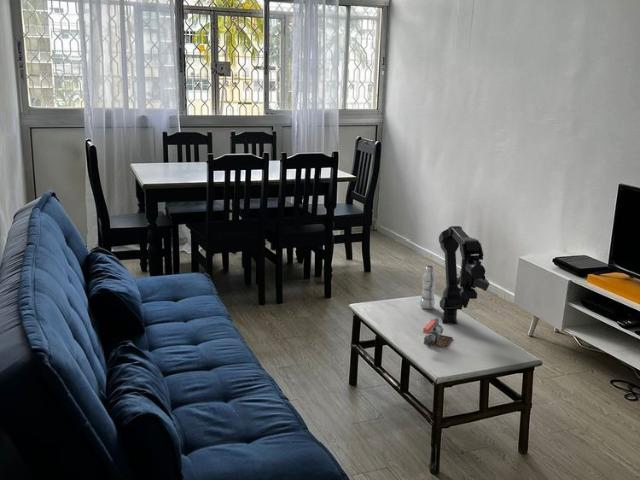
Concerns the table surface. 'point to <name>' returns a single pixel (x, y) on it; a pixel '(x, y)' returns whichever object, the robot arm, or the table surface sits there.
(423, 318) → the table surface
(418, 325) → the table surface
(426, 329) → the lever
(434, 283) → the plastic bottle
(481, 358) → the table surface
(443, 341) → the valve
